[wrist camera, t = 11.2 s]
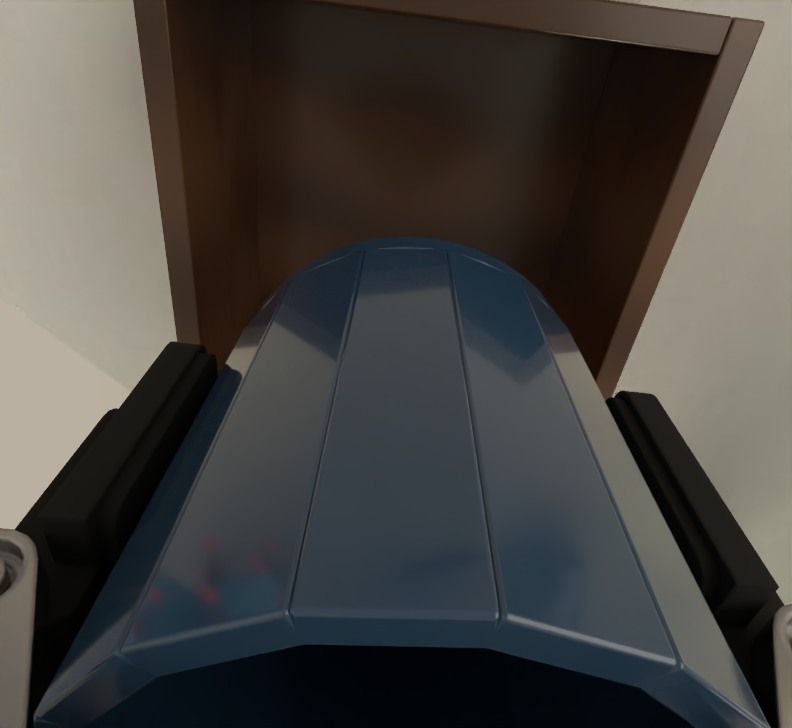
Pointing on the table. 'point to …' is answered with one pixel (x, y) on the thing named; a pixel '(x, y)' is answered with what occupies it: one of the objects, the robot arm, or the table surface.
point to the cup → (402, 530)
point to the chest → (433, 144)
